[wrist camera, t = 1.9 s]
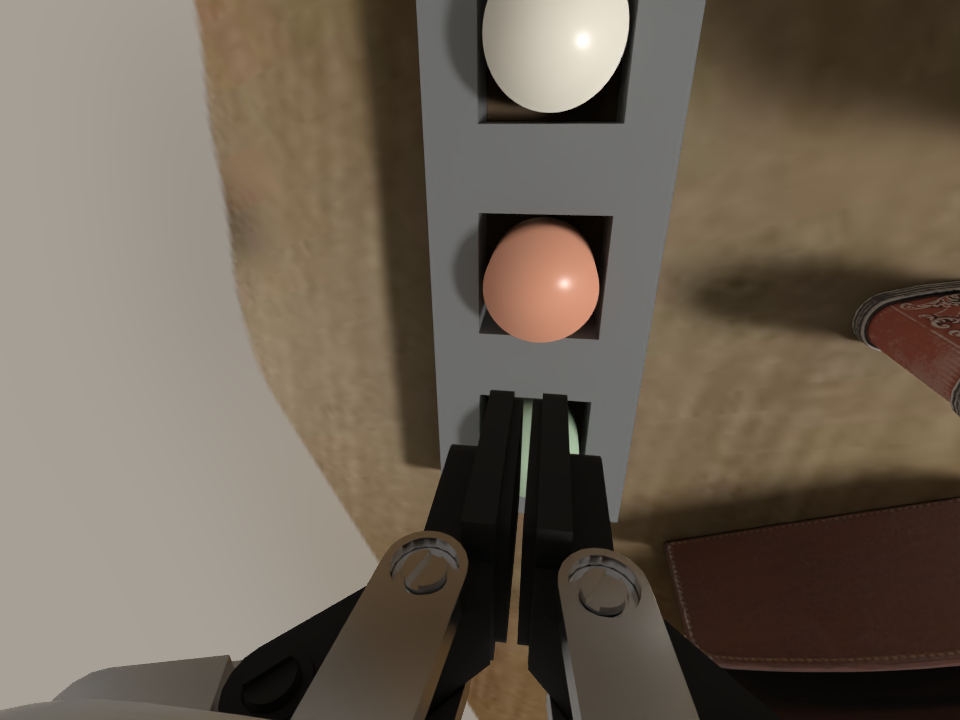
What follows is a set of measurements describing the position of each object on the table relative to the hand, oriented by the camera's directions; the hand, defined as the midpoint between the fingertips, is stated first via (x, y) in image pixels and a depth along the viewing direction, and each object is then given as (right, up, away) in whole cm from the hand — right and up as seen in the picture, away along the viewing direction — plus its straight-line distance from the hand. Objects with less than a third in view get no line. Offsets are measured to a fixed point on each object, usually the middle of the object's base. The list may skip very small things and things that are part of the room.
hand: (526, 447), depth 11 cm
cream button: (+2, +14, +8) cm, 16 cm away
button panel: (+2, +7, +13) cm, 15 cm away
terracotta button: (+2, +6, +12) cm, 14 cm away
